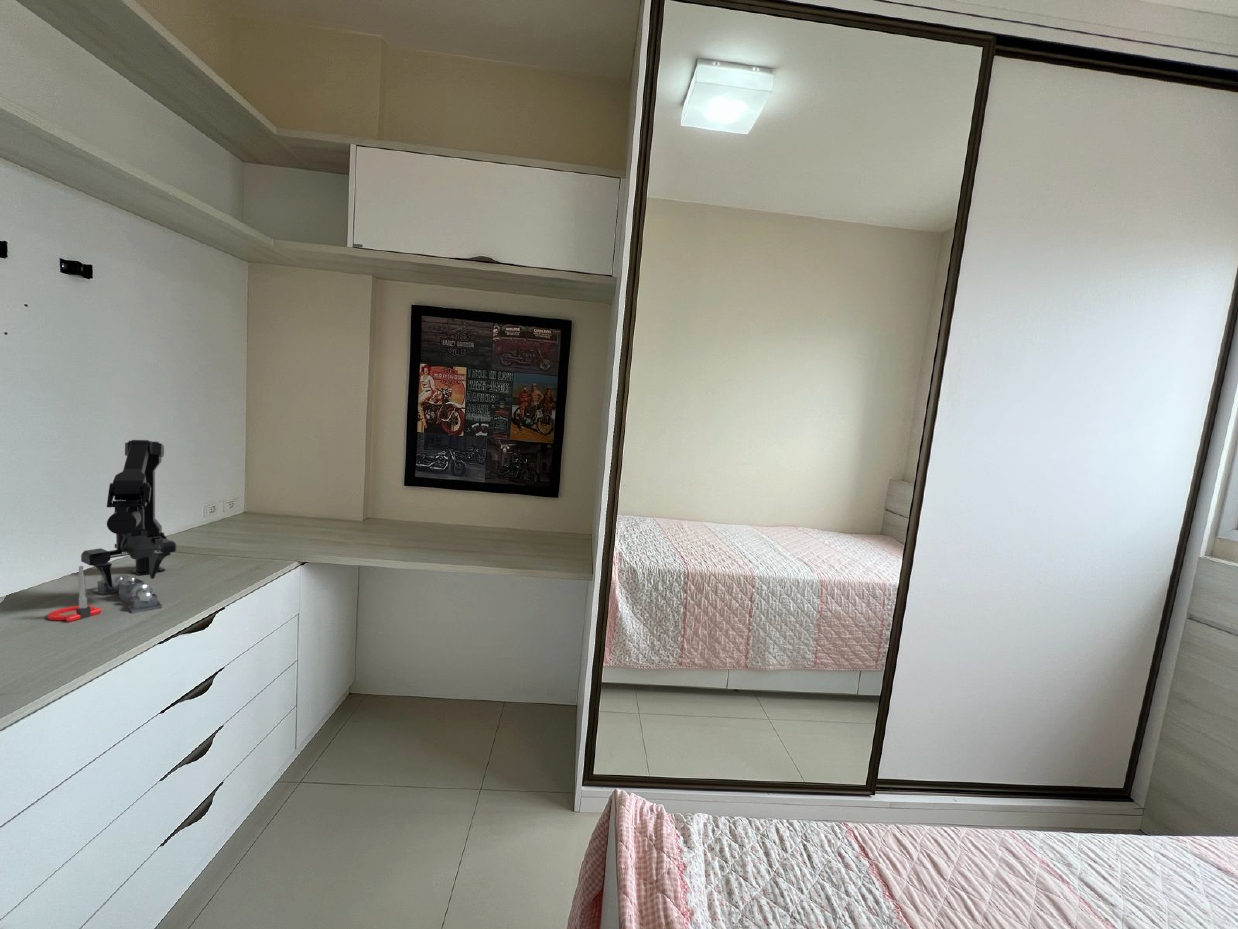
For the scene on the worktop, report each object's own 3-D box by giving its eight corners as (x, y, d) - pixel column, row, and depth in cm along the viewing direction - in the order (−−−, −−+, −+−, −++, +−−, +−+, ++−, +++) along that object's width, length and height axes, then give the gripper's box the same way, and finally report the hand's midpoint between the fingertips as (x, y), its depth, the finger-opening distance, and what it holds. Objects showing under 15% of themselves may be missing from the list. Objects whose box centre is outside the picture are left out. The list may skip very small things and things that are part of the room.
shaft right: (162, 607, 149) (161, 588, 149) (132, 613, 145) (131, 593, 144) (155, 599, 154) (155, 581, 153) (126, 604, 149) (126, 585, 149)
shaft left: (92, 592, 156) (91, 574, 155) (116, 585, 161) (116, 568, 161) (110, 596, 154) (110, 578, 153) (135, 590, 159) (134, 572, 159)
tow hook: (38, 619, 138) (65, 624, 136) (35, 567, 137) (62, 571, 135) (79, 608, 146) (105, 612, 144) (77, 558, 145) (103, 562, 143)
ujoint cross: (117, 597, 154) (116, 576, 153) (135, 593, 157) (135, 573, 157) (128, 603, 151) (127, 582, 150) (146, 599, 154) (146, 578, 154)
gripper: (98, 537, 140) (100, 599, 141) (186, 525, 156) (186, 580, 158) (79, 529, 145) (81, 588, 147) (166, 518, 161) (166, 572, 163)
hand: (131, 582), depth 153 cm, fingers open, 9 cm apart
